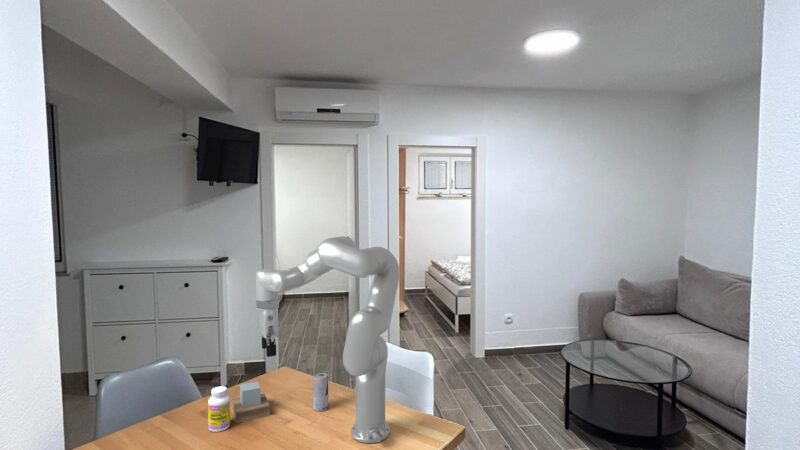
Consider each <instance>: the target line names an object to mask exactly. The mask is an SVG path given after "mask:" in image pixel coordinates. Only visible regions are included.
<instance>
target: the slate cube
mask: <svg viewBox="0 0 800 450" xmlns="http://www.w3.org/2000/svg"><path fill="white" fill-rule="evenodd" d="M261 388H262V387H261V385H260V383H259V382H258V381H253V382H252V381H251V382H248V383H243V384H240V385H239V398H240V402H241V405H242V408H247V407H252V406H256V405H261V394H262V393H261Z"/></svg>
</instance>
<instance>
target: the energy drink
mask: <svg viewBox="0 0 800 450" xmlns="http://www.w3.org/2000/svg"><path fill="white" fill-rule="evenodd" d="M328 408H329V376H328V374H327V373H326V372H318V373H315V374H314V375H313V377H312V409H313V410H314V411H315V412H319V413H320V412H324V411H326V410H327V409H328Z"/></svg>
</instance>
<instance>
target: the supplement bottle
mask: <svg viewBox="0 0 800 450" xmlns="http://www.w3.org/2000/svg"><path fill="white" fill-rule="evenodd" d="M227 389H228V388H227V387H226V386H224V385H220V386H216V387H212V388H211V393H210V394H211V396H210V397H209V398H208V401H207V402H208V403H207V426H208V427H207V429H208V431H210V432H214V433H219V432H222V431H224V430H225V431H226V430H227V429H229V427H230V426H231V397H230V395H229V394H227V392H228V390H227Z"/></svg>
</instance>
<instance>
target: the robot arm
mask: <svg viewBox="0 0 800 450" xmlns="http://www.w3.org/2000/svg"><path fill="white" fill-rule="evenodd" d="M333 270H336V271H339V272H341V273H343V274H344V273H345V274H347V275H349V276H353V277H355V278H358V279H359V278H360V279H364V278H365V279H367V278H369V277H372V276H373V280H372V282H371V285H370V288H369V290H368V296H367V300H366V305H365V306H364V307H363V308H362V309H360V310H358V311H357V312H355V313H354V315H352V317H351V319H350V321H349V324H348V328H347V332H346V337H345V342H344V347H343V352H342V364H343V367H344V369H345V371H346V372H347V373H348V374H349V375H351V376H352V377H355V423H354V424H353V425H352V426H351V429H350V436H351V437H352V438H353V439H354V440H355V441H357V442H360V443H363V444H375V443H380V442H383V441H384V440H386V439H387V438H388V437H389V436H390V433H391V428H390V426H389V424H388V423H387V422H386V372H387V362H388V357H389V355H388V354H389V353H388V352H389V351H388V349H389V348H388V344H387V342H386V340H385V339H384V337H382V334H384V333H385V332H386V331H387V330H388V329H389V328H390V326H391V321H392V317H393V313H394V307H395V302H396V295H397V293H398V287H399V284H400V283H399V281H400V275H401V274H400V273H401V272H400V266H399V263H398V260H397V258H396V257H395V255H394V254H393V253H392V252H391V251H390V250H388V249H387V248H385V247H382V246H371V247H368V248H362V249H360V248H359V247H358V248H357V245H356V243H355V241H354V240H353V239H351V238H350V237H348V236H334V237H329V238H326V239H324V240H323V241H322V242H320V244H319V245H318V247H317V248H316V249H314V250H312V251H310V252H309V253H308V254H307V256H306V260H305V261H303V262H302V263H300V264H298V265H296V266H293V267H291V268H286V269H285V268H284V269H281V270H276V269H274V268H264V269H259V270H257V271H256V272H255V298H256V299H255V302H256V303H255V304H256V305H255V306H256V307H255V308H256V310H257V311H259V327H260V328H259V329H260V333H261V349H262V350H263V349H266V351H265V353H266V357H267V358H269V357H276V356H277V343H276V342H277V341H276V338H278V337H279V335H280V334H279V321H278V311H277V309H279V307H280V306H279V305H280V302H279V293H280V294H282V293H285V292H289V291H292V290H295V289H299V288H301V287H303V286H305V285H307V284H309V283H311V282H313V281H316V280H317V279H318V278H319V277H321V276H324V275H325V274H326V273H328V272H330V271H333Z"/></svg>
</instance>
